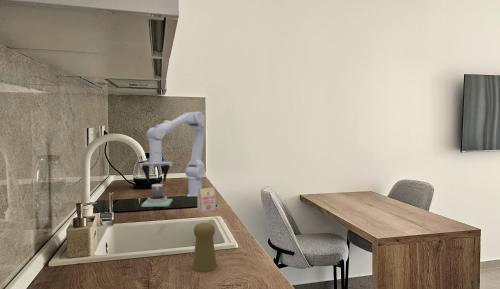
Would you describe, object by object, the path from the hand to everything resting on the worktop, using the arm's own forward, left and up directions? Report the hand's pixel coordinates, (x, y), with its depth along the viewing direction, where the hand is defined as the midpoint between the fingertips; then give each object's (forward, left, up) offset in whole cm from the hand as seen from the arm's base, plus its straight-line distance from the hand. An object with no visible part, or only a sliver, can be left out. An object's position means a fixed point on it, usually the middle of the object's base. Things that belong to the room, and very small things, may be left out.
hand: (156, 181), depth 163 cm
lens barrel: (+2, +1, -9) cm, 10 cm away
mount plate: (+2, +1, -10) cm, 10 cm away
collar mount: (+2, +1, -10) cm, 10 cm away
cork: (+80, +28, -11) cm, 85 cm away
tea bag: (+20, +25, -11) cm, 33 cm away
